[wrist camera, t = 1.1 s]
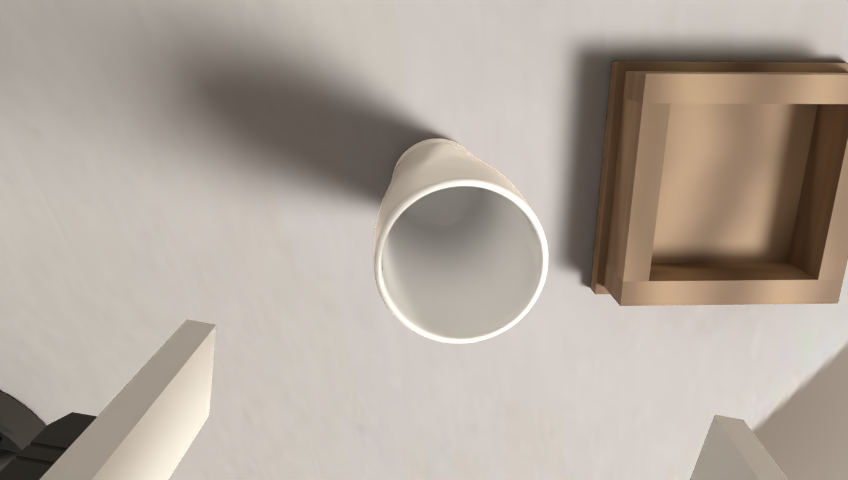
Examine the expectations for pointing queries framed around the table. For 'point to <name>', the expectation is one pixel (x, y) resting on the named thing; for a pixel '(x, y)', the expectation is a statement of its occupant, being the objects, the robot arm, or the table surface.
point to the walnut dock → (723, 184)
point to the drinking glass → (456, 246)
